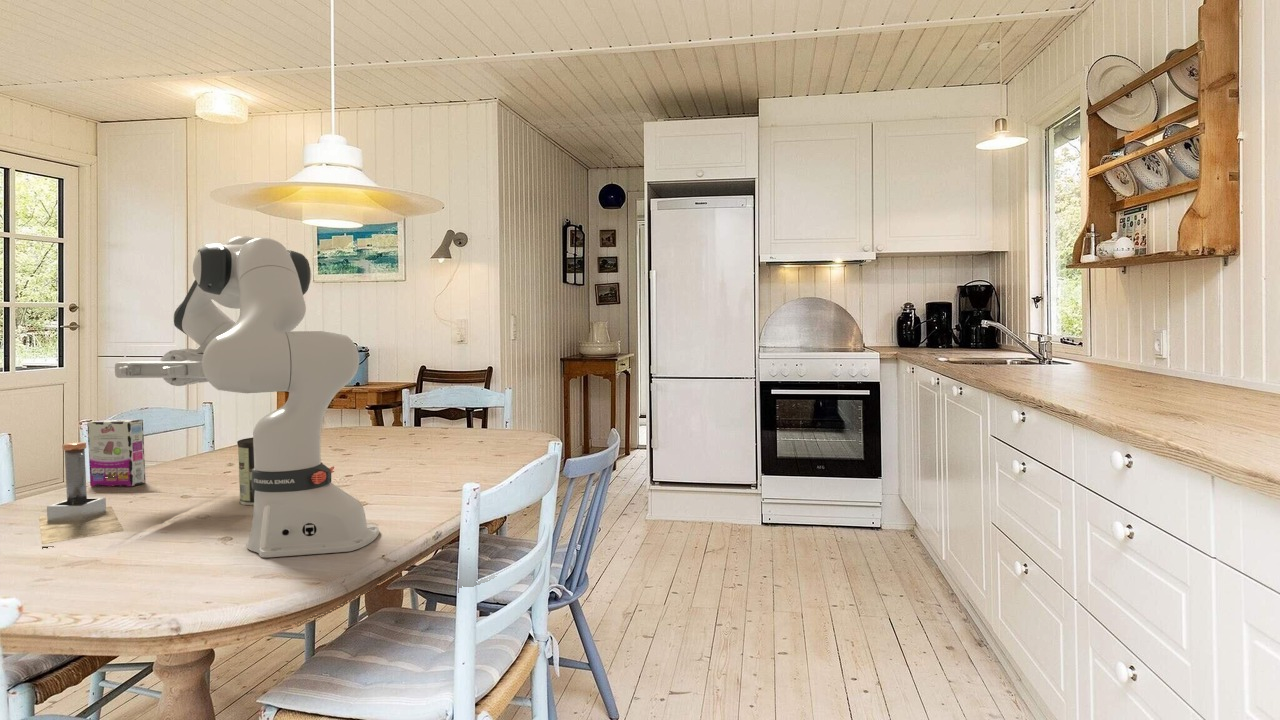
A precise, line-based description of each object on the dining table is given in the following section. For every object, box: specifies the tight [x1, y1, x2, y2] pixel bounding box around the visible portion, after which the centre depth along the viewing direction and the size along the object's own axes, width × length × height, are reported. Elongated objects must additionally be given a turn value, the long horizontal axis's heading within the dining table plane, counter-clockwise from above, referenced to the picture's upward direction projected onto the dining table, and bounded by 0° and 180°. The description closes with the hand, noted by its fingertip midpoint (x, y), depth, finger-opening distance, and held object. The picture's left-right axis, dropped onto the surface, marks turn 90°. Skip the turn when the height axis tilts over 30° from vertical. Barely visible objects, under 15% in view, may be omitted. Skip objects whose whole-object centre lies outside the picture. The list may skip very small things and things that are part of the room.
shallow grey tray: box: [46, 497, 107, 521], centre depth 146 cm, size 7×7×3 cm
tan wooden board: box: [38, 506, 124, 550], centre depth 141 cm, size 24×12×1 cm, turn 41°
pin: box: [62, 442, 88, 505], centre depth 146 cm, size 4×4×15 cm
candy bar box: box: [86, 419, 146, 488], centre depth 179 cm, size 11×5×16 cm, turn 87°
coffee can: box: [237, 437, 254, 506], centre depth 163 cm, size 10×10×14 cm
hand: (144, 371), depth 158 cm, fingers open, 8 cm apart
